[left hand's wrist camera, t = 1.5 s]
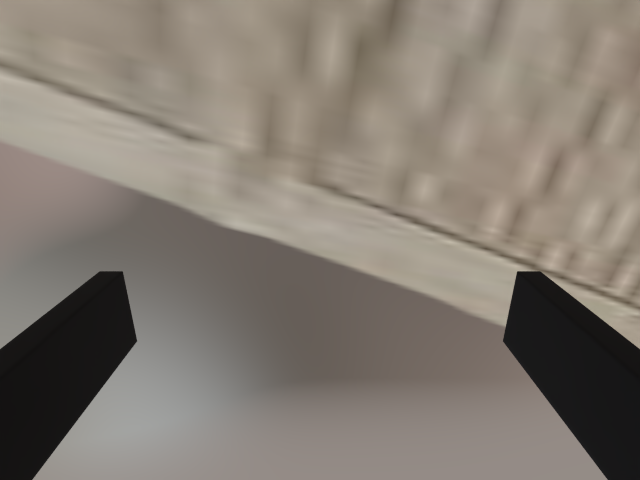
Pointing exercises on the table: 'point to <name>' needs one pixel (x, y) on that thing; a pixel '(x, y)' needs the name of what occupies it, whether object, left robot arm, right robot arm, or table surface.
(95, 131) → the table surface
